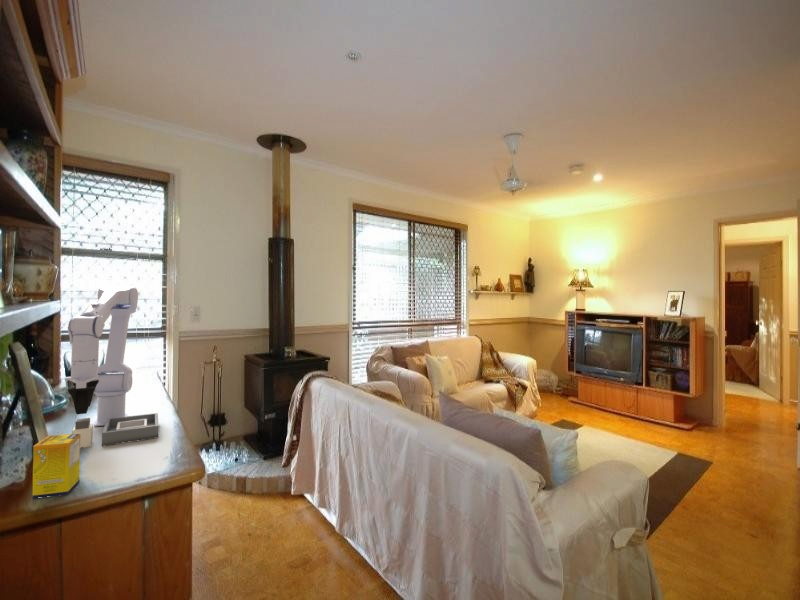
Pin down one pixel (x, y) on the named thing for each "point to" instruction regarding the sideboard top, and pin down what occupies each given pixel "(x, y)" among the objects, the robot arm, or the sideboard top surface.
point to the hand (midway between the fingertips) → (83, 410)
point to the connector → (84, 431)
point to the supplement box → (56, 465)
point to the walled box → (130, 428)
